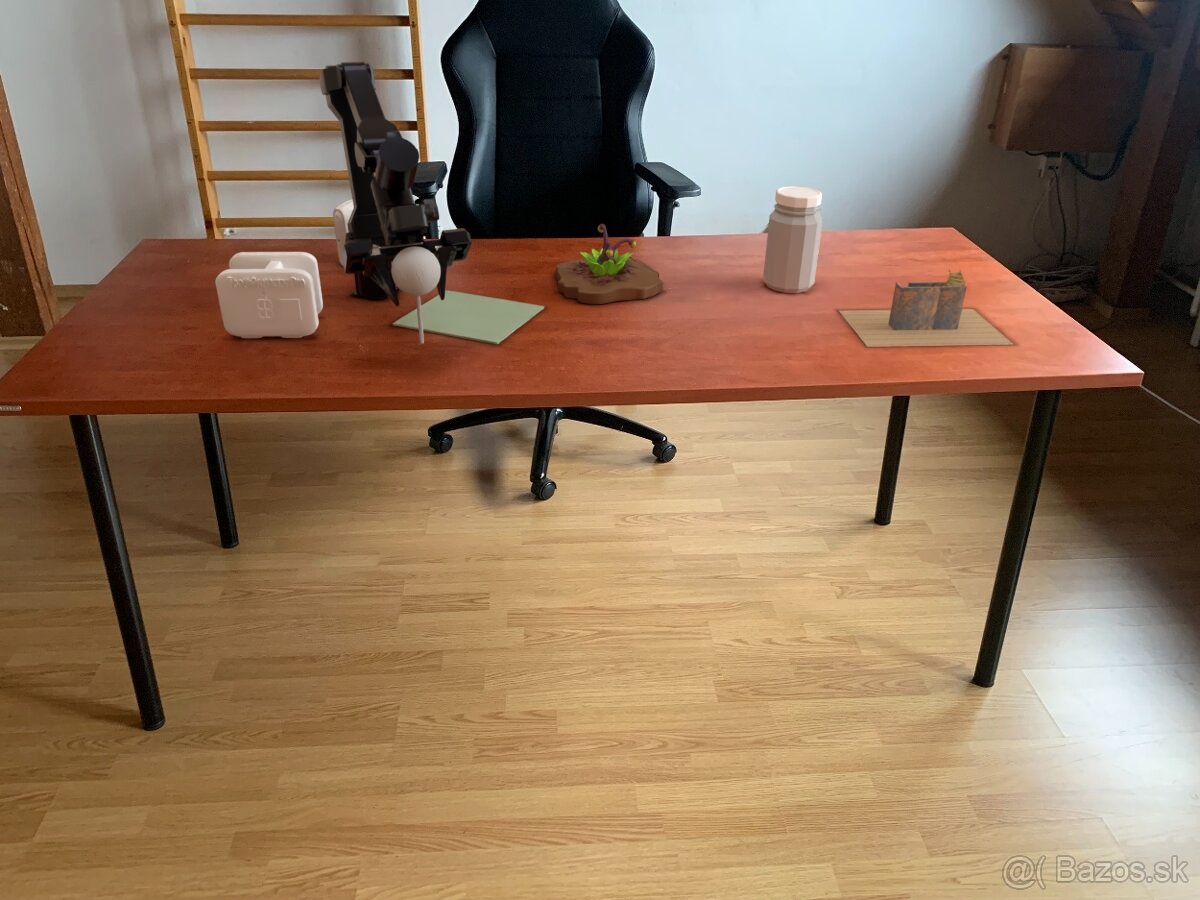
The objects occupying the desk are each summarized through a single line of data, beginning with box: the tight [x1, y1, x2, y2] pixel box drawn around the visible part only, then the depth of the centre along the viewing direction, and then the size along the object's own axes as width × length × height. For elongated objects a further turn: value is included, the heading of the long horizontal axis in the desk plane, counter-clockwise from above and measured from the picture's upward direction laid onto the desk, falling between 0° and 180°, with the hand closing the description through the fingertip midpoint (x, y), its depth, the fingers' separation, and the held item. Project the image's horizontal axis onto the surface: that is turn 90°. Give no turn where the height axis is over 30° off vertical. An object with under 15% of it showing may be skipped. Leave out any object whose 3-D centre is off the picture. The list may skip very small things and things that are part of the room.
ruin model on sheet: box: [838, 269, 1015, 348], centre depth 160 cm, size 25×16×10 cm, turn 94°
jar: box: [762, 185, 824, 294], centre depth 175 cm, size 10×10×18 cm
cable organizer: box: [214, 251, 324, 339], centre depth 155 cm, size 15×11×12 cm
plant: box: [555, 223, 664, 305], centre depth 176 cm, size 20×20×11 cm
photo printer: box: [332, 198, 354, 267], centre depth 186 cm, size 10×4×12 cm, turn 141°
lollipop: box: [391, 247, 441, 345], centre depth 140 cm, size 7×7×15 cm
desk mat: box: [392, 289, 545, 345], centre depth 164 cm, size 20×18×1 cm
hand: (420, 302), depth 139 cm, fingers closed on lollipop, 6 cm apart
